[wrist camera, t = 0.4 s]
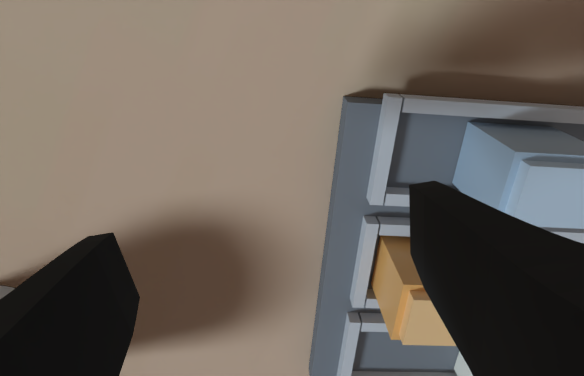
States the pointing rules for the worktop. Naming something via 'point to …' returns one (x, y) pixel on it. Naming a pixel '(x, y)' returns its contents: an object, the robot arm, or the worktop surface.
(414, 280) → the slider orange
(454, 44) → the worktop surface
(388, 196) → the panel
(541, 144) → the slider blue
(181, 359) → the worktop surface
